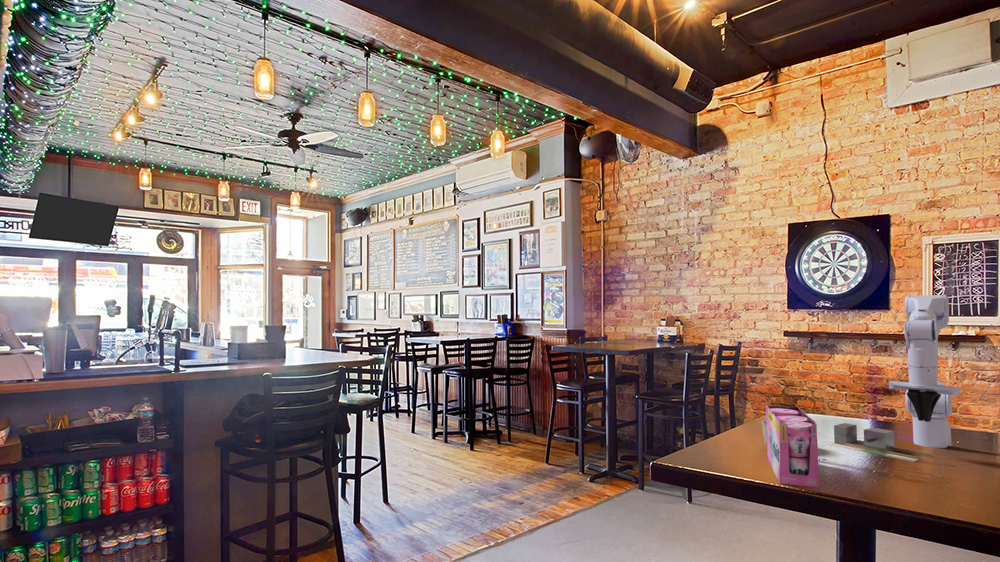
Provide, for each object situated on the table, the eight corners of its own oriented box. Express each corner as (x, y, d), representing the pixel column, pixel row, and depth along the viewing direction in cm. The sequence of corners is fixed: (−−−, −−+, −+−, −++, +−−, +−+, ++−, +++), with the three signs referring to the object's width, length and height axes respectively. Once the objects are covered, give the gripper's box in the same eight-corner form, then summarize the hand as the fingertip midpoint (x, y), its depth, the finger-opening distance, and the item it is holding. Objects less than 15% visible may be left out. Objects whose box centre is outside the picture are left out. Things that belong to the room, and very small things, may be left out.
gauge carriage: (873, 446, 144) (872, 427, 145) (894, 450, 140) (893, 431, 140) (858, 450, 140) (857, 431, 140) (879, 454, 136) (879, 434, 136)
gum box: (822, 490, 113) (820, 425, 114) (780, 486, 116) (778, 422, 116) (801, 460, 135) (799, 406, 136) (766, 457, 138) (765, 404, 139)
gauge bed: (845, 442, 154) (844, 420, 154) (939, 461, 135) (938, 436, 135) (823, 448, 147) (822, 425, 147) (918, 468, 129) (917, 442, 129)
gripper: (882, 365, 141) (884, 417, 140) (951, 370, 129) (954, 427, 128) (894, 363, 145) (897, 414, 144) (962, 368, 132) (965, 424, 132)
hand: (924, 420), depth 136 cm, fingers closed
